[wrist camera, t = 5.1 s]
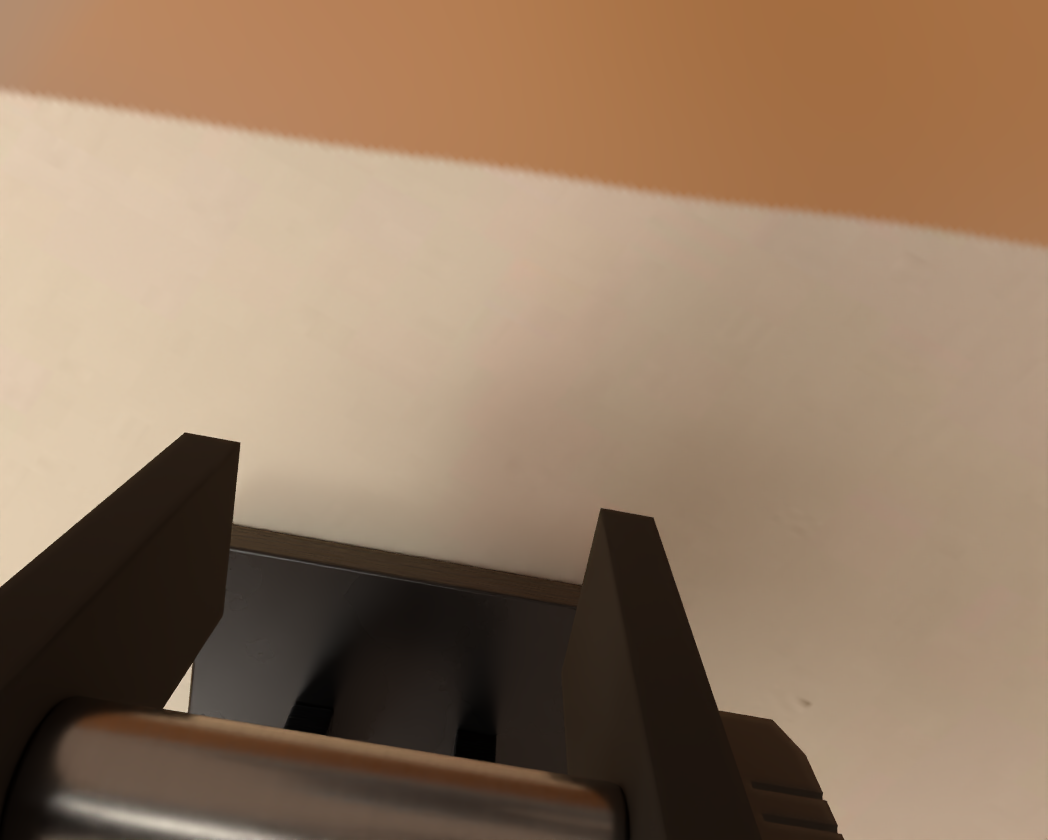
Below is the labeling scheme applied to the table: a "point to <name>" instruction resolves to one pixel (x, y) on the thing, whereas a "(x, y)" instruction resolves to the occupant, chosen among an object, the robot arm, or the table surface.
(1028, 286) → the table surface
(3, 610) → the robot arm
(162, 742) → the lever
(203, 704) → the bracket
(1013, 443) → the table surface
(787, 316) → the table surface
